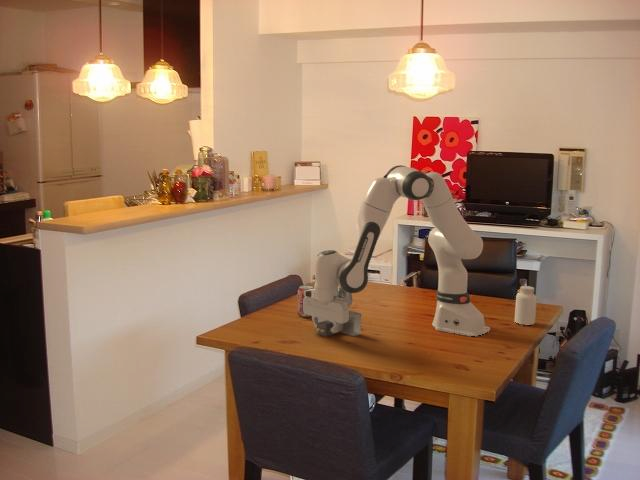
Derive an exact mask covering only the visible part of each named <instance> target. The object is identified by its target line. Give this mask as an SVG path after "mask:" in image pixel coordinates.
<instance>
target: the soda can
mask: <svg viewBox="0 0 640 480" xmlns="http://www.w3.org/2000/svg"><path fill="white" fill-rule="evenodd" d="M312 288H314V286H313V285H309V284H304V285H299V288H298V290H297V304H296V305H297V306H296V307H297V308H296V309H297V315H298V316H299V317H302V318H310V317H311V318H312V316H311V315H307V314H304V312H303V299H304V297H305V296H304V291H305V290H309V289H312Z"/></svg>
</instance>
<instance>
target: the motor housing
mask: <svg viewBox="0 0 640 480" xmlns="http://www.w3.org/2000/svg"><path fill="white" fill-rule="evenodd" d="M338 297H340V298H344V299H345V300H346V301H347V302H348V311H349V320H348V322H347V323H343V324H342V331H341V333H342V334H343V335H347V336H351V337H357V336H359V335H361V334H362V332H361V331H362V330H361V329H362V313H360V312H356V311H352V310H349V308H350V307H351V306H352V304H353V293H349V292H347V291H345V290H344V289H343V288H342V287H341V285H338ZM317 319H318V323H319V322H322V321H326V319H322V318H317ZM328 321H329V320H328Z"/></svg>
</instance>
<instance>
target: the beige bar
mask: <svg viewBox="0 0 640 480" xmlns="http://www.w3.org/2000/svg"><path fill="white" fill-rule="evenodd" d="M333 326H334V324H333V321H328V320H326V321H322V322H319V323H318V328H316V331H317V335H319V336H322V337H324V338H325V337H329V336H333V335H335V334H336V333H339V332H340V333H341V332H342V324H340V323H339V325H338V327H337V332H336V333H332V332H331V328H333Z"/></svg>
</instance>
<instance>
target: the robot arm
mask: <svg viewBox="0 0 640 480" xmlns="http://www.w3.org/2000/svg"><path fill="white" fill-rule="evenodd" d="M401 197H402V198H405V199H408V200H411V201H422V204H423V207H424V208H425V210H426V213H427V214H426V215H427V216H428V218H429V221H430V223H431V224H432V226H434V227H433V228H431V230H430V232H429V233H428V236H427V237H428V239H427V242H428V244H429V245H428V246H429V247H430V248H431V250H432V251H433V253H434V256H435V260H436V263H437V269H438V270H437V271H438V285H437V290H436V309H435V314H434V318H433V321H432V322H431V323H432V327H434V328H435V330H436V331H438V332H442V333H443V332H444V333H450V334H454V333H455V335H459V334H460V336H465V335H466V337H471V336H475V337H479V336H478V335H481V336H483V335H482V334H484V335H486V334H485V333H487V332H488V333H490V332H489V331H491V327H489V326H487V325H486V323H485V317H484V314H483V313H482V312H481V310H479V309H478V308H477V307H476V306H475V305H474V304H473V303H472V302H471V299H472V298H474V297H473V296H474V295H473V294H469V292H468V291H467V290H468V275H469V274H468V271H467V269H466V267H465V266H464V264H463V262H462V260H474V259H478V257H479V256H480V255H481V254H482V252H483V250H484V241H483V238H482V236H480V235H479V234H478V233H476V232H475V231H474V230H473V229H472V227H470V226H469V224H468V223H467V221H466V220H465V219H464V217H463V216H462V215H461V213H460V211H459V209H458V207H457V204H456V202H455V199H454V197H453V195H452V192H451V190H450V188H449V186H448V184H447V182H446V181H445V179H444V177H443V176H442V174H441V173H438V171H437V172H435V171H430V172H427V173H425V172H422V171H419V170H418V169H416V168H414V167H410V166H409V167H408V166H406V165H402V164H401V165H395V166H392V167H391V168H390V169H389V170H388V171H387V173H386V174H385V175H383V177H377V178H375V179H374V180H373V181H372V182H371V184H370V186H369V187H368V189H367V191H366V193H365V195H364V197H363V200H362V202H361V204H360V207H359V210H358V211H359V212H358V216H357V224H358V225H357V226H358V231H359V236H358V240H357V243H356V247H355V249H354V252H353V255H352V258H349V257H347V256H344V255H342V254H340V253H339V252H338V251H337V250H333V249H331V250H330V249H329V250H324V251H321V252H319V253H318V254H317V256H315V257H316V258H315V263H314V278H315V279H314V280H315V281H314V286H313V288H312V289H309V290H305V291H304V296H305V297H304V299H303V312H304V314H307V315H311V320H312V323H313V327H314V328H315V329H318V318H322V319H326V320H329V321H333V324H334V326H333V328H331V332H332V333H334V334H336V332H337V327H338V325H339V323H340V324H343V323H347V322H348V320H349V311H350V310H349V308H348V302H347V301H346V300H345V299H344V298H340V297H338V286H341V287H342V288H343V289H344V290H345V291H347V292H349V293H351V294H357V293H360V292H361V291H363V290H364V289H365V288H366V287H367V284H368V283H369V282H368V280H369V276H368V275H369V272H368V270H369V265H370V263H371V260H372V256H373V253H374V251H375V249H376V246H377V245H376V244H377V242H378V240H379V238H380V236H381V234H382V231H383V230H384V228H385V226H386V224H387V221H388V220H389V218H390V216H391V212H392V210H393V207H394V205H395V203H396V202H397V200H398V199H399V198H401ZM348 310H349V311H348ZM337 333H338V332H337ZM488 333H487V334H488Z"/></svg>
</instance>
